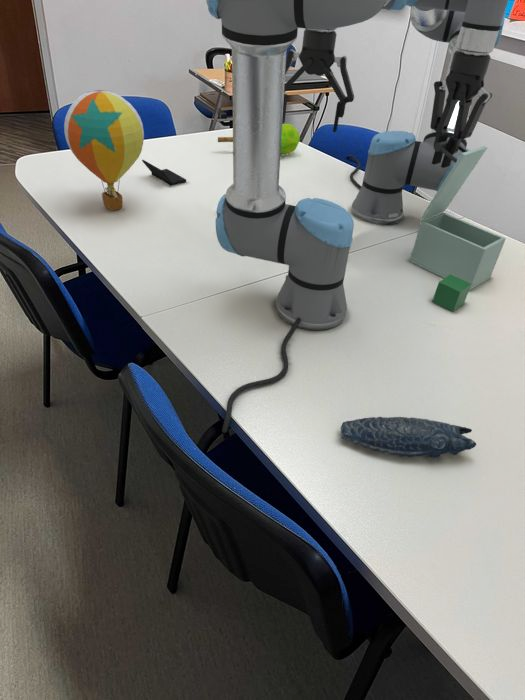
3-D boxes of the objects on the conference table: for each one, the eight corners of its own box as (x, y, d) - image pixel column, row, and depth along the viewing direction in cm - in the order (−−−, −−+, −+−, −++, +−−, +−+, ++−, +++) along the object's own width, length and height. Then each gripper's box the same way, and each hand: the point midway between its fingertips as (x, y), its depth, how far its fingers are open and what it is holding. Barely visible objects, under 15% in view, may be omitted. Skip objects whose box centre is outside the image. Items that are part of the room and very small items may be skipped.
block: (464, 303, 120) (471, 283, 116) (452, 311, 117) (460, 291, 113) (443, 293, 123) (450, 274, 119) (432, 301, 119) (438, 281, 116)
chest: (489, 278, 130) (506, 238, 123) (469, 290, 124) (485, 249, 118) (431, 250, 140) (443, 212, 133) (409, 261, 134) (420, 221, 127)
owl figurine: (474, 470, 81) (484, 449, 78) (339, 453, 82) (344, 431, 79) (465, 439, 86) (475, 417, 83) (339, 423, 87) (344, 401, 84)
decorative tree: (215, 117, 188) (295, 117, 193) (215, 147, 195) (292, 146, 200) (221, 131, 174) (307, 131, 180) (221, 163, 181) (304, 161, 186)
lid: (487, 147, 118) (461, 128, 121) (464, 155, 113) (437, 134, 116) (444, 211, 132) (422, 192, 135) (422, 220, 127) (399, 200, 129)
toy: (64, 203, 145) (44, 85, 127) (127, 189, 156) (117, 79, 137) (97, 229, 134) (80, 105, 116) (162, 213, 145) (156, 96, 126)
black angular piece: (190, 175, 164) (173, 153, 156) (179, 193, 163) (161, 172, 155) (166, 170, 170) (147, 148, 162) (155, 188, 169) (136, 167, 161)
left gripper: (376, 33, 120) (358, 129, 133) (271, 21, 123) (264, 116, 136) (374, 37, 114) (356, 137, 127) (263, 24, 117) (257, 123, 130)
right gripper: (515, 57, 106) (476, 171, 121) (451, 44, 115) (423, 152, 129) (497, 60, 102) (459, 177, 117) (432, 46, 110) (405, 157, 125)
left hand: (308, 126), depth 132 cm, fingers open, 13 cm apart
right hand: (440, 164), depth 123 cm, fingers closed on lid, 2 cm apart
